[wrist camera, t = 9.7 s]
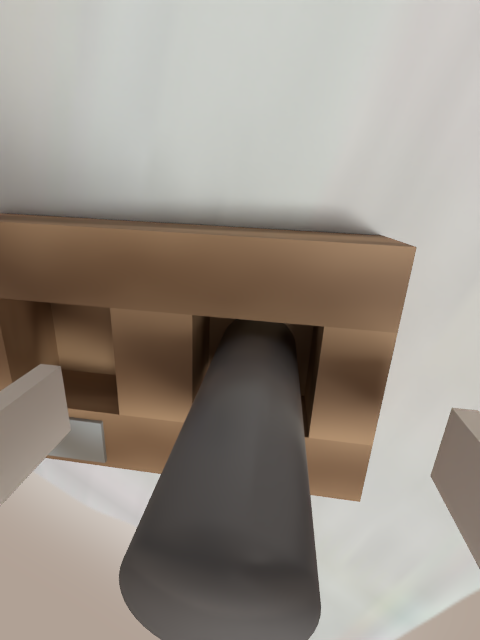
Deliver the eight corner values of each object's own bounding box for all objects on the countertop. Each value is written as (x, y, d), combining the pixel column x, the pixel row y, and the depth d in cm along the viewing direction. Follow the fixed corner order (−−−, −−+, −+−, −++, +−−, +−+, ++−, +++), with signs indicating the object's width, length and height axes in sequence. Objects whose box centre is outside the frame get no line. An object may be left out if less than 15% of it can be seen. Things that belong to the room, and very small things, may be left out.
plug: (221, 310, 17) (109, 510, 6) (299, 315, 17) (333, 540, 6) (220, 378, 19) (127, 644, 7) (292, 384, 18) (309, 676, 7)
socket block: (2, 213, 18) (-88, 216, 14) (382, 235, 16) (418, 247, 12) (38, 405, 22) (-23, 455, 18) (343, 443, 20) (359, 509, 16)
